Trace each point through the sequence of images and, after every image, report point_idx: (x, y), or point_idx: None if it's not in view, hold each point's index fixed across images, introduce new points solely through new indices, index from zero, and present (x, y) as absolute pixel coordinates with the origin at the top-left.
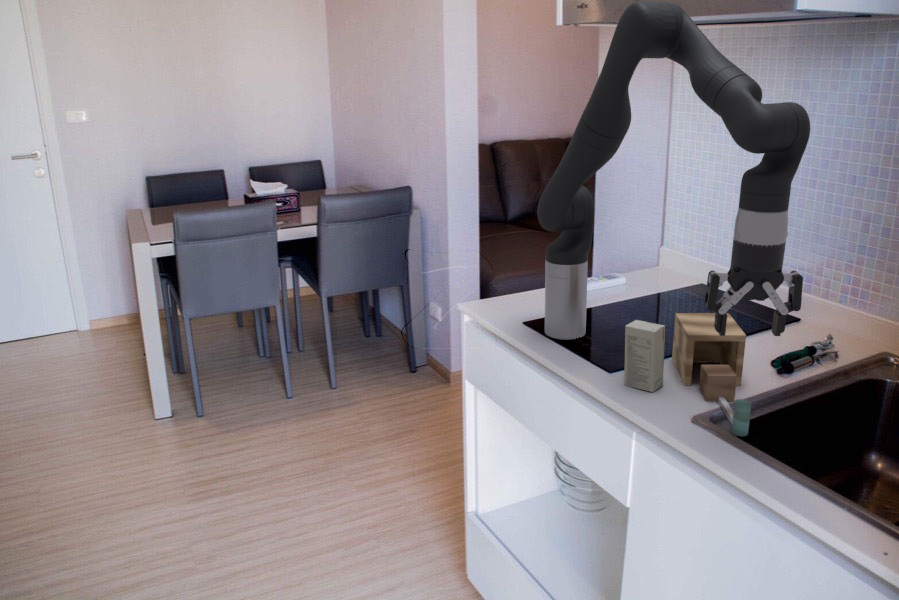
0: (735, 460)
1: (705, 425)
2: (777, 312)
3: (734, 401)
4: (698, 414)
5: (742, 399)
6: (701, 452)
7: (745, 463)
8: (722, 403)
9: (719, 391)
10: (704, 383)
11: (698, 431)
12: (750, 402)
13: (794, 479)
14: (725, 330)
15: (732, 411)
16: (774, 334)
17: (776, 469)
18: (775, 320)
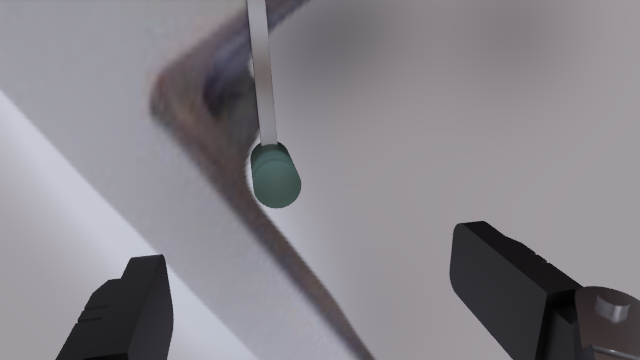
0: (236, 279)
1: (188, 129)
2: (548, 337)
3: (254, 180)
4: (175, 64)
5: (281, 164)
6: None
7: (254, 287)
8: (249, 21)
9: None
10: None
11: (166, 163)
12: (300, 181)
13: (333, 323)
14: (168, 348)
15: (269, 73)
16: (453, 267)
17: (310, 297)
18: (501, 302)
